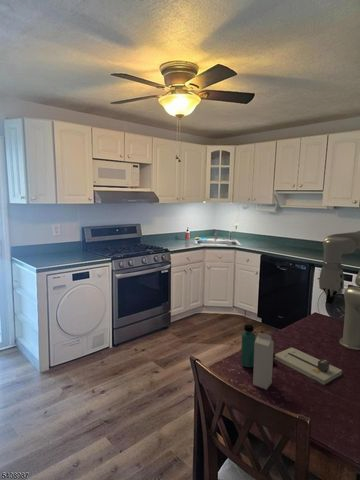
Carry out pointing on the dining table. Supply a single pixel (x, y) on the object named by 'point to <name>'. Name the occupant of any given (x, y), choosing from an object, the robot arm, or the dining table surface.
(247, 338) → the beverage bottle
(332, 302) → the robot arm
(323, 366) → the fader
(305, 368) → the slider board
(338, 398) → the dining table surface
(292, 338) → the dining table surface
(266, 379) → the milk
